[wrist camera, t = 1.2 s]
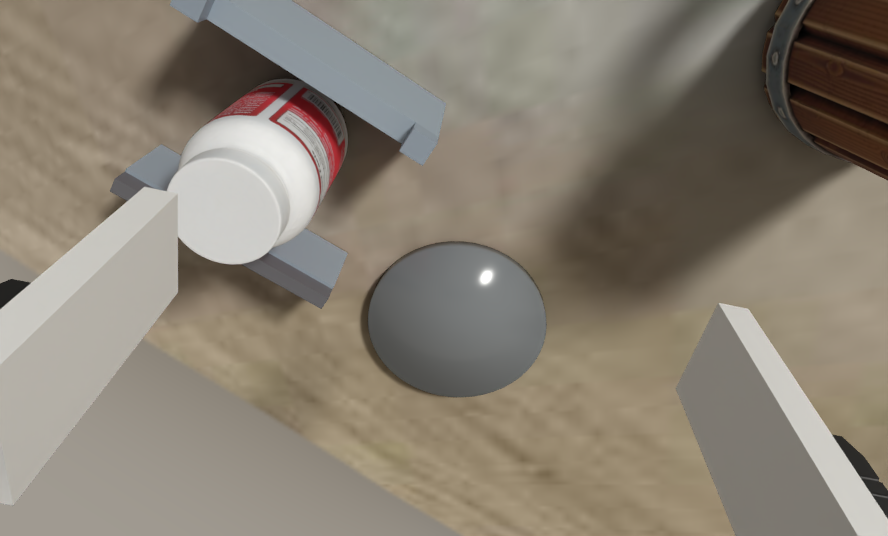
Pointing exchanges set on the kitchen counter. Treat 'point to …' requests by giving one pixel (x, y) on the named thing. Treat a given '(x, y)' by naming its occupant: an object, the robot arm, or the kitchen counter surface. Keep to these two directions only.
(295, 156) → the pill bottle
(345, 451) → the kitchen counter surface
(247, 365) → the kitchen counter surface
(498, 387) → the coaster
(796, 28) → the mug
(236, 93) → the kitchen counter surface
